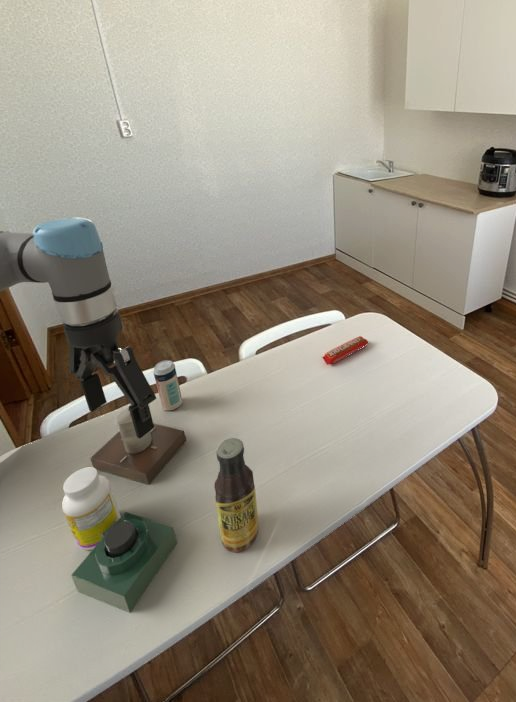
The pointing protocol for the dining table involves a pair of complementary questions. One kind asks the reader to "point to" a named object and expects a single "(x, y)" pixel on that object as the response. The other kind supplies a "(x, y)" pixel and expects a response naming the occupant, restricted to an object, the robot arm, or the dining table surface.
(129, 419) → the dial
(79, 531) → the supplement bottle
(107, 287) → the robot arm
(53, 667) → the dining table surface
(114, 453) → the dial panel
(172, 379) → the pale pink canister
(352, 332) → the dining table surface
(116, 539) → the dark grey push button
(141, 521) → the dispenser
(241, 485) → the sauce bottle
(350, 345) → the candy bar
